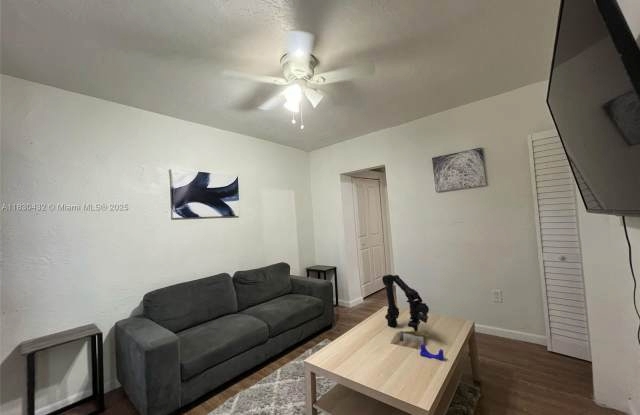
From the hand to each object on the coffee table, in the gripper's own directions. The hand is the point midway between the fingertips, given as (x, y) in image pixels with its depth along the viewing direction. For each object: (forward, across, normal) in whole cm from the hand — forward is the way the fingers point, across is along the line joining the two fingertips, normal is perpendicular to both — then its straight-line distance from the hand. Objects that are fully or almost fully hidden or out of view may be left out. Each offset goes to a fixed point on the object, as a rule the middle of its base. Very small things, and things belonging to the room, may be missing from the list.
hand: (416, 332), depth 177 cm
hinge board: (+4, -7, +3) cm, 9 cm away
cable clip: (+4, -22, -12) cm, 25 cm away
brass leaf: (+3, -4, +2) cm, 5 cm away
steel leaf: (+3, -9, +2) cm, 9 cm away
